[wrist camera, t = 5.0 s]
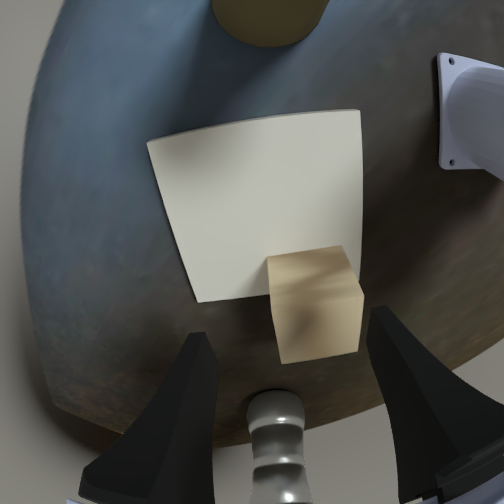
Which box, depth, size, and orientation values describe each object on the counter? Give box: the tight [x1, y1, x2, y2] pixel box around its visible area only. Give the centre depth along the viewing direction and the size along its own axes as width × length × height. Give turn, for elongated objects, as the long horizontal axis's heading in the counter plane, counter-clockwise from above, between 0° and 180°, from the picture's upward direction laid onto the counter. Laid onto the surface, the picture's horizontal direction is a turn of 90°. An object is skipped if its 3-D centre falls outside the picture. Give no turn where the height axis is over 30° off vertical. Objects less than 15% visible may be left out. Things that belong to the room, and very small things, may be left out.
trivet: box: [147, 109, 363, 302], centre depth 18 cm, size 12×12×1 cm
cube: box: [267, 245, 364, 364], centre depth 18 cm, size 5×5×5 cm
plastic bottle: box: [247, 390, 312, 504], centre depth 23 cm, size 6×7×20 cm
